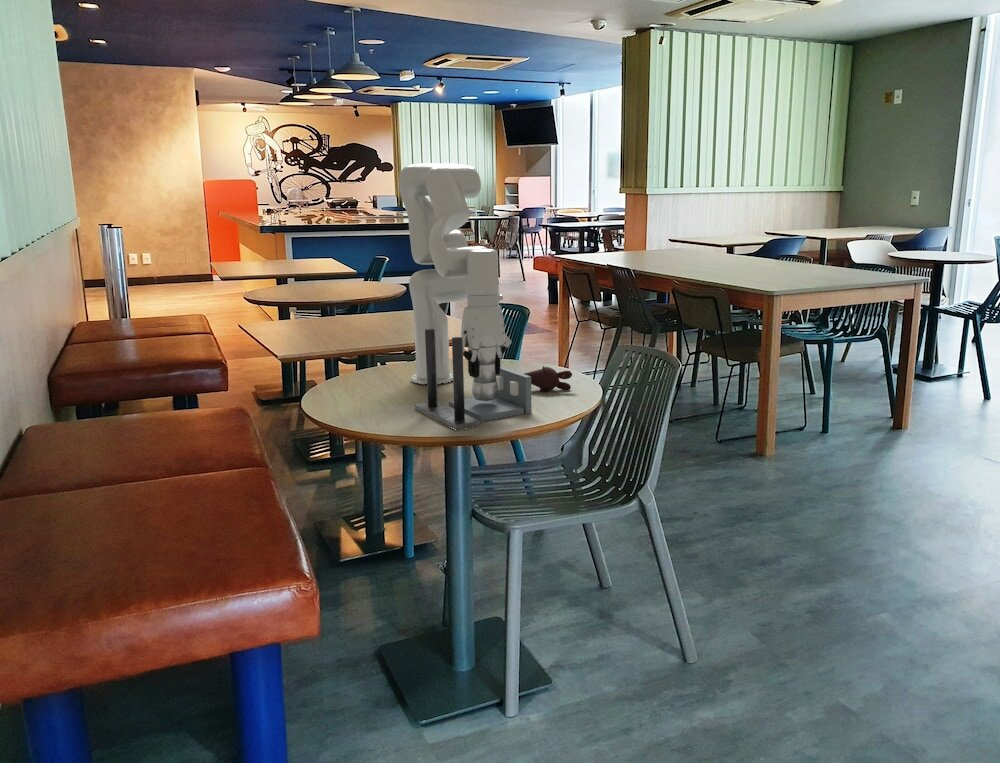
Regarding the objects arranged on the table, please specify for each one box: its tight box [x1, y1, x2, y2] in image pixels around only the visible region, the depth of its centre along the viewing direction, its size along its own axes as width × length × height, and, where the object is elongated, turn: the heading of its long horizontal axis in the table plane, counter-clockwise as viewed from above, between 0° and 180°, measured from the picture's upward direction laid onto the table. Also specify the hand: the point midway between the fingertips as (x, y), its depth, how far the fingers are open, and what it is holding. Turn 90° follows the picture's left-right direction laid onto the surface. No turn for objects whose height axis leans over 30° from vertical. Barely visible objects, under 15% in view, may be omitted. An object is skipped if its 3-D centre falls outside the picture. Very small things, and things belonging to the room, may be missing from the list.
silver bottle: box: [471, 335, 498, 401], centre depth 194 cm, size 6×7×20 cm
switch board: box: [448, 365, 533, 423], centre depth 196 cm, size 16×14×9 cm
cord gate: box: [414, 329, 480, 431], centre depth 189 cm, size 22×6×20 cm, turn 31°
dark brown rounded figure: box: [523, 365, 573, 392], centre depth 215 cm, size 7×7×15 cm
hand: (484, 374), depth 195 cm, fingers closed on silver bottle, 5 cm apart
